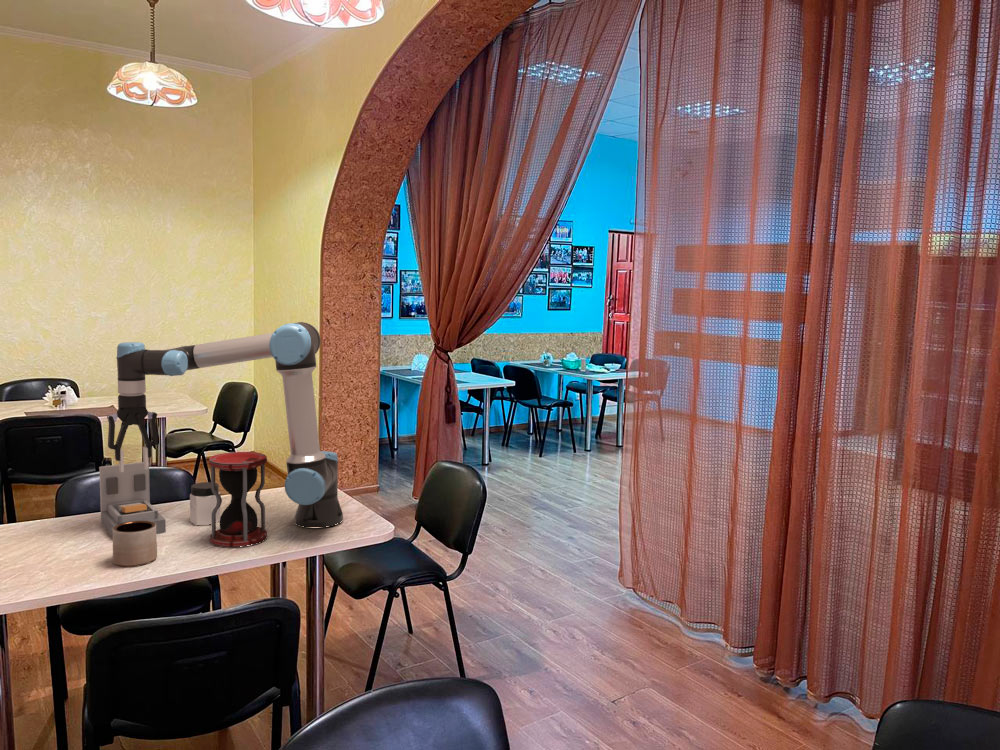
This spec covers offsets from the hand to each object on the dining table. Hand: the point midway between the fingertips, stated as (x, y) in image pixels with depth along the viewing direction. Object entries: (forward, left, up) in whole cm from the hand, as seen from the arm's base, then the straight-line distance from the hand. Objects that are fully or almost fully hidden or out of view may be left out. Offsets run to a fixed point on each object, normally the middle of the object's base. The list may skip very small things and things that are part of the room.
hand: (133, 469), depth 230 cm
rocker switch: (+3, 0, -13) cm, 13 cm away
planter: (-27, +6, -19) cm, 34 cm away
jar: (-3, -20, -19) cm, 28 cm away
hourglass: (-25, -23, -19) cm, 39 cm away
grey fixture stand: (+3, 0, -19) cm, 19 cm away
